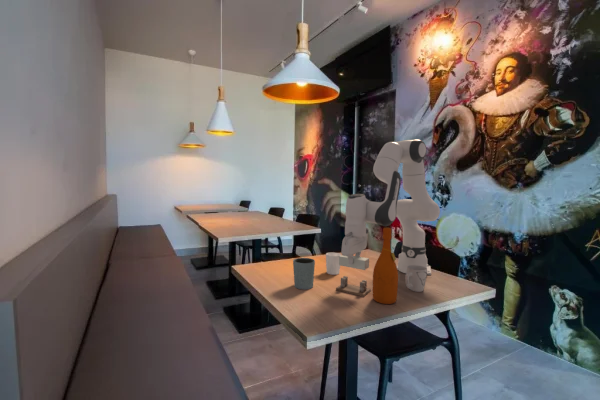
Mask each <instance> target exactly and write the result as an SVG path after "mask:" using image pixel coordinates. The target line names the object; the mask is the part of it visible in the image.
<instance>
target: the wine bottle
mask: <svg viewBox="0 0 600 400" xmlns="http://www.w3.org/2000/svg"><path fill="white" fill-rule="evenodd" d="M392 231H393V230H392V228H391V227H388V226H384V227H383V229H382V239H383V242H382V248H381V251H380V254H379V256H378V258H377V259H376V262H375V264H374V268H373V273H372V298H373V300H374V301H375V302H376V303H379V304H383V305H384V304H385V305H391V304H395V303H396V302H397V299H398V289H399V270H397V266H398V265H397V264H396V255H395V252H394V251H392V249H391V240H392V239H393V238H392V237H393V236H392Z"/></svg>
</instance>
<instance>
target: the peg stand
mask: <svg viewBox="0 0 600 400" xmlns="http://www.w3.org/2000/svg"><path fill="white" fill-rule="evenodd" d="M348 278H349V277H348V276H346V275H344V276H343V277H340V285H338V286H337V287H336V288H335V291H338V292H342V293H347V294H349V295H350V294H351V295H355V296H358V297H359V296H360V297H363V298H365V296H367V295H368V294H369V293H370V292H371V291H372V289H371V288H368V280H366V279H363V280H361V281H359V285H355V284H349V283H348V281H349V280H348Z"/></svg>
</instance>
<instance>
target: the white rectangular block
mask: <svg viewBox="0 0 600 400" xmlns="http://www.w3.org/2000/svg"><path fill="white" fill-rule="evenodd" d="M353 260H354V263H353V264H352V265H351V264H349V260H348V257H347V256H343V255H342V254H341V256H339V265H340V267H346V268H351V269H357V270H361V271H366V270H367V269H369V268H370V258H369V257H364V256H363V257H362V256H360V257H357V256H355V255H353Z"/></svg>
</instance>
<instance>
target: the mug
mask: <svg viewBox="0 0 600 400" xmlns="http://www.w3.org/2000/svg"><path fill="white" fill-rule="evenodd" d="M404 278H405V279H404V280H405V281H404V282H405V287H406V288H408V289H409V290H410V291H412V292H417V293H421V292H423V291H424V290H425V286H426V282H427V268H426V267H423V266H418V265H409V266H407V274H406V273H405V275H404Z"/></svg>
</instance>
